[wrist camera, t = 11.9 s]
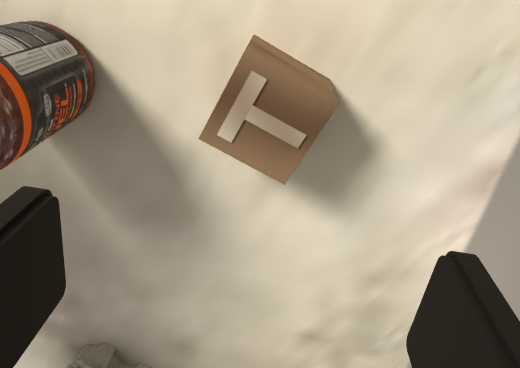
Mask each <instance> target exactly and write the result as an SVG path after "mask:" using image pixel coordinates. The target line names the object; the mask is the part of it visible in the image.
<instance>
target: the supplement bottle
mask: <svg viewBox="0 0 520 368" xmlns="http://www.w3.org/2000/svg"><path fill="white" fill-rule="evenodd" d="M93 92H94V74H93V70H92V64H91V62H90V60H89V58H88V57H87V55H86V53H85V51H84V50H83V49H82V48H81V46H80V45H79V44H78V42H77V41H76V40H75V39H73V38H72V37H71V36H70V35H69V34H68V33H66V32H65V31H63V30H62V29H60V28H58V27H56V26H53V25H51V24H48V23H44V22H37V21H27V22H17V23H11V24H6V25H0V170H1V169H3V168H4V167H6V166H7V165H9V164H10V163H12V162H13V161H15V160H16V159H18V158H19V157H21V156H22V155H24V154H25V153H26V152H28V151H29V150H31V149H32V148H33V147H35V146H37V145H38V144H39V143H40V142H42V141H44V140H45V139H46V138H48V137H49V136H51V135H52V134H54V133H55V132H57V131H58V130H60V129H62V128H63V127H64V126H66V125H67V124H68V123H70V122H72V121H73V120H74V119H76V118H77V117H78V116H79V115H80V114H81V113H82V112H83V111H84V110H85V109H86V108H87V106H88V105H89V103H90V101H91V99H92V95H93Z"/></svg>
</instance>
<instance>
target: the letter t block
mask: <svg viewBox="0 0 520 368" xmlns="http://www.w3.org/2000/svg"><path fill="white" fill-rule="evenodd" d="M338 104H339V102H338V100H337V97H336V94H335V92H334V89H333V86H332V83H331V81H330V79H328V78H327V77H325V76H323V75H322V74H320V73H318V72H317V71H315V70H313V69H311V68H310V67H308V66H306V65H305V64H303V63H301V62H300V61H298V60H296V59H295V58H293V57H291V56H290V55H288V54H286V53H284V52H283V51H281V50H279V49H278V48H276V47H274V46H273V45H271V44H269V43H268V42H266V41H264V40H263V39H261V38H259V37H258V36H256V35H253V37H252V39H251V40H250V42H249V44H248V46H247V48H246V50H245V51H244V53H243V55H242V57H241V59H240V61H239V63H238V65H237V67H236V69H235V70H234V72H233V74H232V76H231V78H230V80H229V82H228V84H227V86H226V88H225V90H224V91H223V93H222V95H221V97H220V99H219V101H218V103H217V105H216V107H215V109H214V110H213V112H212V114H211V116H210V118H209V120H208V122H207V124H206V126H205V128H204V130H203V131H202V133H201V135H200V137H199V139H200V140H202V141H204V142H205V143H207V144H209V145H211V146H213V147H215V148H217V149H219V150H220V151H222V152H224V153H226V154H228V155H230V156H232V157H234V158H235V159H237V160H239V161H241V162H243V163H245V164H247V165H249V166H250V167H252V168H254V169H256V170H258V171H260V172H262V173H264V174H265V175H267V176H269V177H271V178H273V179H275V180H277V181H279V182H280V183H282V184H284V185H285V184H286V182H287V181H288V179H289V178H290V176H291V175H292V173H293V172H294V170H295V169H296V167H297V166H298V164H299V163H300V161H301V160H302V158H303V157H304V155H305V154H306V152H307V151H308V149H309V148H310V146H311V145H312V143H313V142H314V140H315V139H316V137H317V136H318V134H319V132H320V131H321V129H322V128H323V126H324V125H325V123H326V122H327V120H328V119H329V117H330V116H331V114H332V113H333V111H334V110H335V108H336V107H337V105H338Z"/></svg>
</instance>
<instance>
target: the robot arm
mask: <svg viewBox="0 0 520 368" xmlns="http://www.w3.org/2000/svg"><path fill="white" fill-rule="evenodd" d="M65 287H66V279H65V267H64V256H63V244H62V233H61V221H60V210H59V201H58V199H57V197H54V196H52V193H51V191H49V190H47V189H40V188H34V187H27V186H23V187H21V188H20V189H19V190H17V191H16V192H15V193H14V194H12V195H11V196H10V197H9V198H7V199H6V200H5V201H4V202H2V203H1V204H0V368H13V367H14V366H15V364H16V363H17V361H18V360H19V359H20V357H21V356H22V354H23V353H24V351H25V350H26V349H27V347H28V346H29V344H30V343H31V341H32V340H33V339H34V337H35V336H36V334H37V333H38V331H39V330H40V329H41V327H42V326H43V324H44V323H45V321H46V320H47V319H48V317H49V316H50V314H51V313H52V311H53V310H54V309H55V307H56V306H57V304H58V303H59V301H60V300H61V298H62V297H63V294H64V292H65ZM406 345H407V352H408V355H409V358H410V362H411V365H412V368H520V321H519V320H518V318H517V317H516V315H515V314H514V312H513V310H512V309H511V308H510V306H509V304H508V303H507V301H506V300H505V298H504V297H503V295H502V294H501V292H500V291H499V289H498V287H497V286H496V284H495V283H494V281H493V280H492V278H491V277H490V275H489V273H488V272H487V270H486V269H485V267H484V266H483V264H482V263H481V261H480V260H479V258H478V257H477V256H476V255H474V254H468V253H462V252H455V251H450V252H448V253H447V254H446V256H440V257H439V259H438V261H437V263H436V265H435V268H434V270H433V273H432V275H431V278H430V280H429V283H428V285H427V288H426V291H425V293H424V296H423V298H422V301H421V303H420V306H419V308H418V311H417V313H416V316H415V318H414V321H413V323H412V326H411V328H410V331H409V333H408V336H407V344H406Z"/></svg>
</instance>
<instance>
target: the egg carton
mask: <svg viewBox="0 0 520 368" xmlns="http://www.w3.org/2000/svg"><path fill="white" fill-rule="evenodd" d="M115 350H116V348H115V347H114V346H112V345H110V344H108V343H104V344H102V345H99V346H95V345H90V344H86V345H85V346H84V347H83V348H82V349H81V351H80V353H79V355H78V356H77V358H76V360H75V362H74V364H73V366H71V365H68V366H67V367H66V368H150V367H149V366H147V365H146V364H144V363H142V362H140V363H138V364H135V365H128V364H124V363H122V362H120V361H119V360H118V359H117V358H116V356H115Z"/></svg>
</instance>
